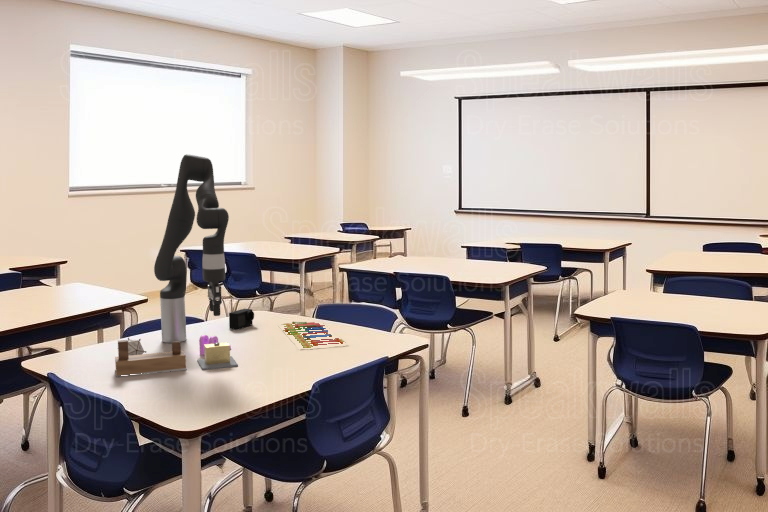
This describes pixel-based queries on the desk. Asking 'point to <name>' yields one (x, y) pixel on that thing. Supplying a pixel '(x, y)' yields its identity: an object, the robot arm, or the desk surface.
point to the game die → (135, 347)
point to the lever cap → (217, 353)
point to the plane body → (149, 360)
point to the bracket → (207, 342)
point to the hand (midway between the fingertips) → (214, 313)
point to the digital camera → (241, 319)
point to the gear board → (314, 327)
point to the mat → (219, 365)
